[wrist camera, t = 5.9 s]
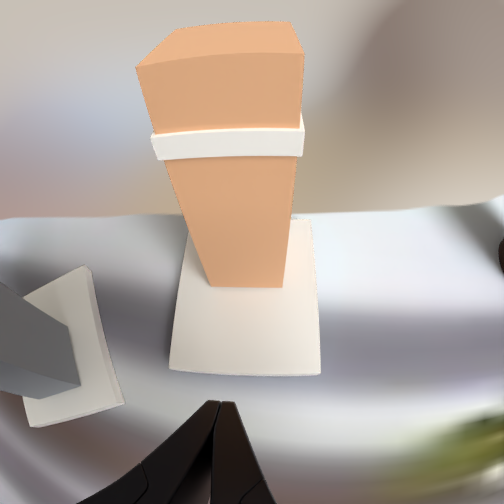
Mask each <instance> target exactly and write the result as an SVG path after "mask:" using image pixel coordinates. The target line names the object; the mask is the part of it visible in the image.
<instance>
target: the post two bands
mask: <svg viewBox="0 0 504 504" xmlns="http://www.w3.org/2000/svg"><path fill="white" fill-rule="evenodd" d="M80 386H81V383H80V380H79V376H78V372H77V368H76V364H75V359H74V355H73V350H72V345H71V340H70V335H69V329H68V326H66V325H64V324H63V323H61V322H59V321H58V320H56V319H54V318H53V317H51V316H49V315H48V314H46V313H45V312H43V311H41V310H40V309H38V308H37V307H35V306H34V305H32V304H31V303H29V302H28V301H26V300H25V299H23V298H22V297H20V296H19V295H18V294H16V293H15V292H13V291H12V290H11V289H9V288H8V287H6V286H5V285H4V284H2V283H1V282H0V390H1V391H5V392H9V393H12V394H16V395H20V396H25V397H29V398H34V399H38V400H39V399H43V398H46V397H49V396H52V395H55V394H59V393H62V392H65V391H68V390H71V389H74V388H77V387H80Z"/></svg>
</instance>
